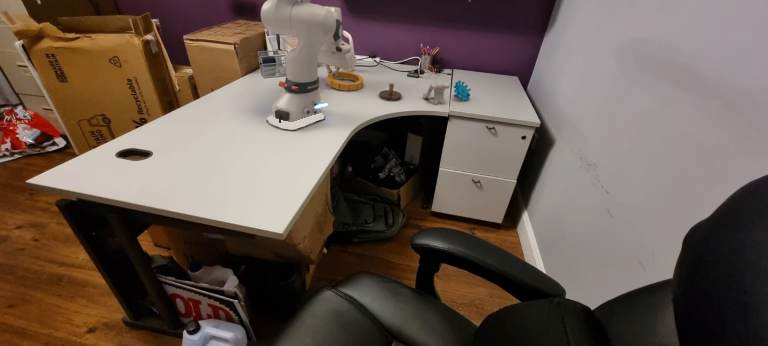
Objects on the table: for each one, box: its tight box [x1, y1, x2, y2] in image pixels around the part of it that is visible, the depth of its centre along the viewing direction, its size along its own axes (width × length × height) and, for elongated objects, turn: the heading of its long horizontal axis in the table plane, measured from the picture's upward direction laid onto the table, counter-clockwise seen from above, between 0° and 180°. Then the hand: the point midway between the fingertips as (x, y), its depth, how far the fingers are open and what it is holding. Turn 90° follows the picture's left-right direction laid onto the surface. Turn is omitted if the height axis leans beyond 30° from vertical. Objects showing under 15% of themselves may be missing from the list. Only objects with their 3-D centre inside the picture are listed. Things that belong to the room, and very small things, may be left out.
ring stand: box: [379, 82, 402, 102], centre depth 146 cm, size 10×10×6 cm
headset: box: [343, 30, 357, 72], centre depth 174 cm, size 20×7×18 cm, turn 26°
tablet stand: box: [422, 83, 450, 105], centre depth 145 cm, size 9×8×8 cm
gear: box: [453, 79, 472, 102], centre depth 152 cm, size 11×6×10 cm
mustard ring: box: [326, 70, 364, 92], centre depth 154 cm, size 17×17×3 cm
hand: (332, 74), depth 156 cm, fingers closed on mustard ring, 2 cm apart
